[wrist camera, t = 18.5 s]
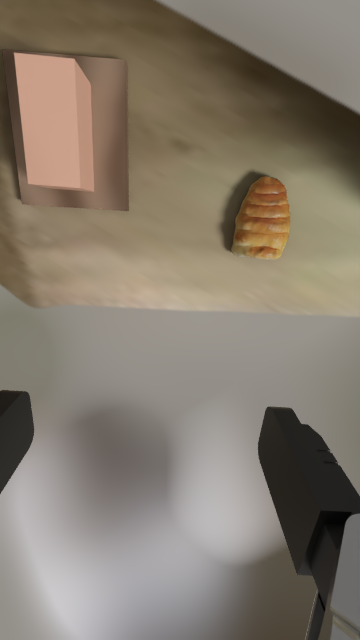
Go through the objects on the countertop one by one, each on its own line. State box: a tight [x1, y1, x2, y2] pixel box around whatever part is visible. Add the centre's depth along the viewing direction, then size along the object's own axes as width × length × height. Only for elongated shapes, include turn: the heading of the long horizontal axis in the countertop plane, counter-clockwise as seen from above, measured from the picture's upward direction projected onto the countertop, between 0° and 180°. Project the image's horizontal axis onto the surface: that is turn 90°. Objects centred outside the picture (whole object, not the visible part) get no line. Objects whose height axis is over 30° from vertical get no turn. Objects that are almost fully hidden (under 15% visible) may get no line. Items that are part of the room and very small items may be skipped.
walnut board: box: [2, 49, 129, 211], centre depth 31 cm, size 12×14×2 cm
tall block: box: [14, 53, 94, 192], centre depth 28 cm, size 5×5×10 cm
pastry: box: [231, 176, 290, 260], centre depth 33 cm, size 9×7×4 cm
